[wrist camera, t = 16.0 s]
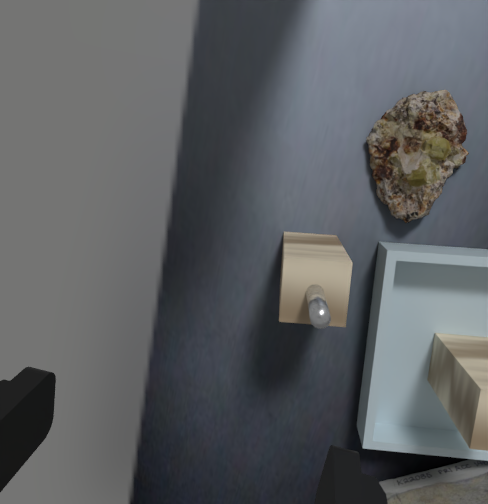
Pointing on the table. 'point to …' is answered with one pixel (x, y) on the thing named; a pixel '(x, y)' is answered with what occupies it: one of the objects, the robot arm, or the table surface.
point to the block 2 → (462, 384)
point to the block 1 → (314, 280)
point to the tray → (418, 344)
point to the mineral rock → (416, 152)
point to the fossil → (441, 485)
